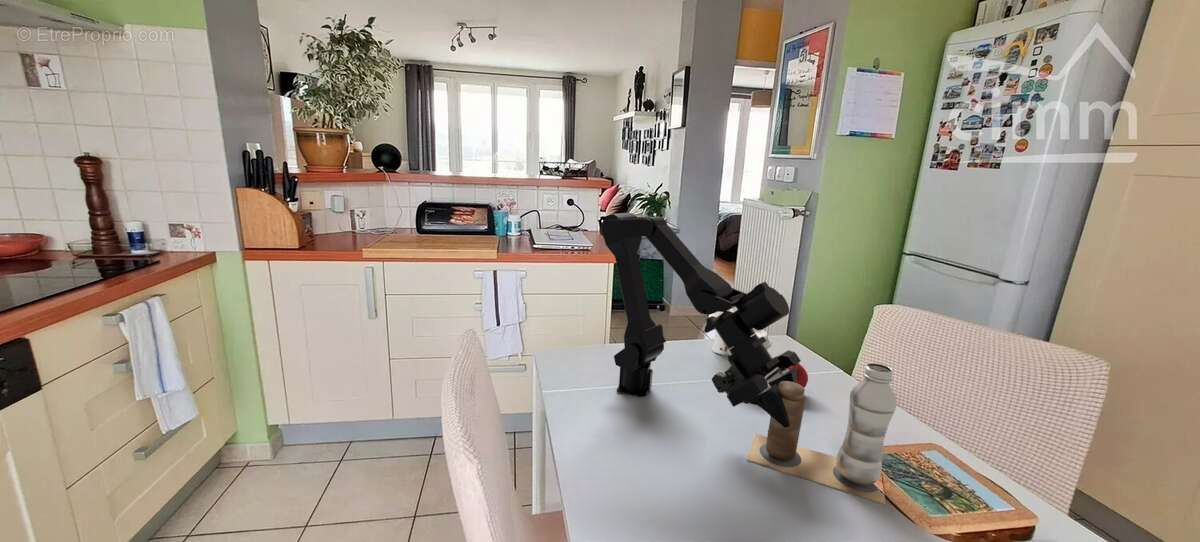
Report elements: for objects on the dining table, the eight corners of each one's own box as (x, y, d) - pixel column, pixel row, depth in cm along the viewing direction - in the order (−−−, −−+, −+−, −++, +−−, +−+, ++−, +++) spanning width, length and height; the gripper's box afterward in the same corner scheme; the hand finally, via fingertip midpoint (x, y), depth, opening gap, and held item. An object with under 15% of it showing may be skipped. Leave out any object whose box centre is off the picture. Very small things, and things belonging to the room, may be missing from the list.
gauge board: (746, 460, 82) (746, 459, 82) (755, 434, 90) (755, 433, 90) (885, 504, 73) (885, 503, 73) (881, 471, 81) (881, 470, 81)
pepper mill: (773, 459, 81) (784, 394, 78) (760, 442, 86) (770, 379, 82) (800, 459, 81) (813, 394, 78) (786, 441, 86) (797, 379, 83)
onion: (807, 400, 103) (813, 367, 101) (780, 397, 104) (785, 363, 103) (802, 388, 109) (807, 356, 107) (776, 384, 110) (781, 353, 108)
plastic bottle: (826, 465, 81) (846, 358, 76) (862, 465, 82) (885, 359, 77) (848, 491, 75) (872, 377, 70) (887, 491, 76) (914, 377, 71)
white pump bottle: (737, 348, 130) (743, 296, 126) (735, 358, 124) (742, 304, 120) (711, 344, 132) (717, 293, 128) (708, 353, 126) (714, 300, 122)
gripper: (733, 347, 97) (777, 416, 93) (684, 375, 84) (734, 458, 79) (776, 322, 90) (826, 395, 86) (730, 348, 77) (787, 437, 72)
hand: (793, 420), depth 81 cm, fingers closed on pepper mill, 5 cm apart
